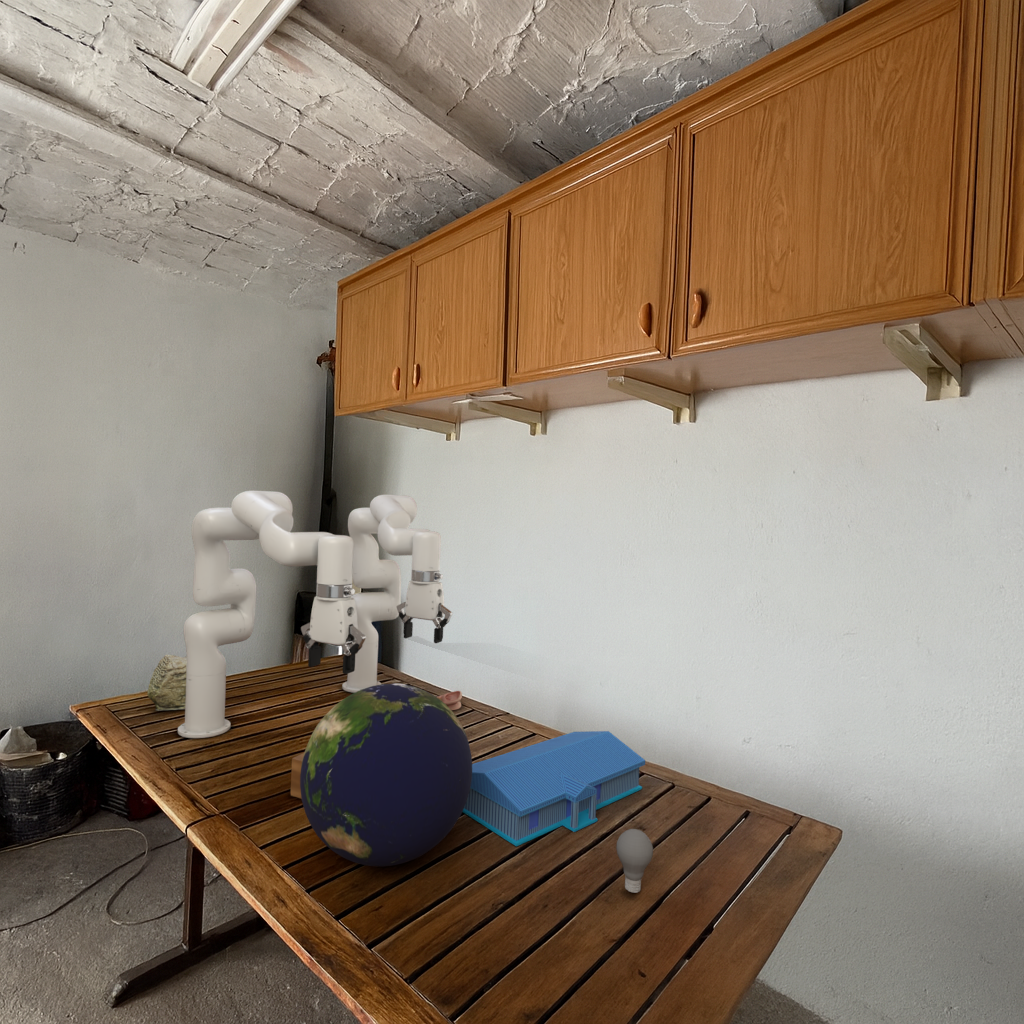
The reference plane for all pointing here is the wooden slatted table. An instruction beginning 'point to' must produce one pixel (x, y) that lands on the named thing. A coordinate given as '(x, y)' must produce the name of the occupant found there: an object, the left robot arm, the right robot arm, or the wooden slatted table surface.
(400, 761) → the globe
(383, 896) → the wooden slatted table surface
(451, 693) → the anatomical model
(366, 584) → the right robot arm
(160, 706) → the fossil
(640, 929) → the wooden slatted table surface
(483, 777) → the model building
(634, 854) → the light bulb
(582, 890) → the wooden slatted table surface
